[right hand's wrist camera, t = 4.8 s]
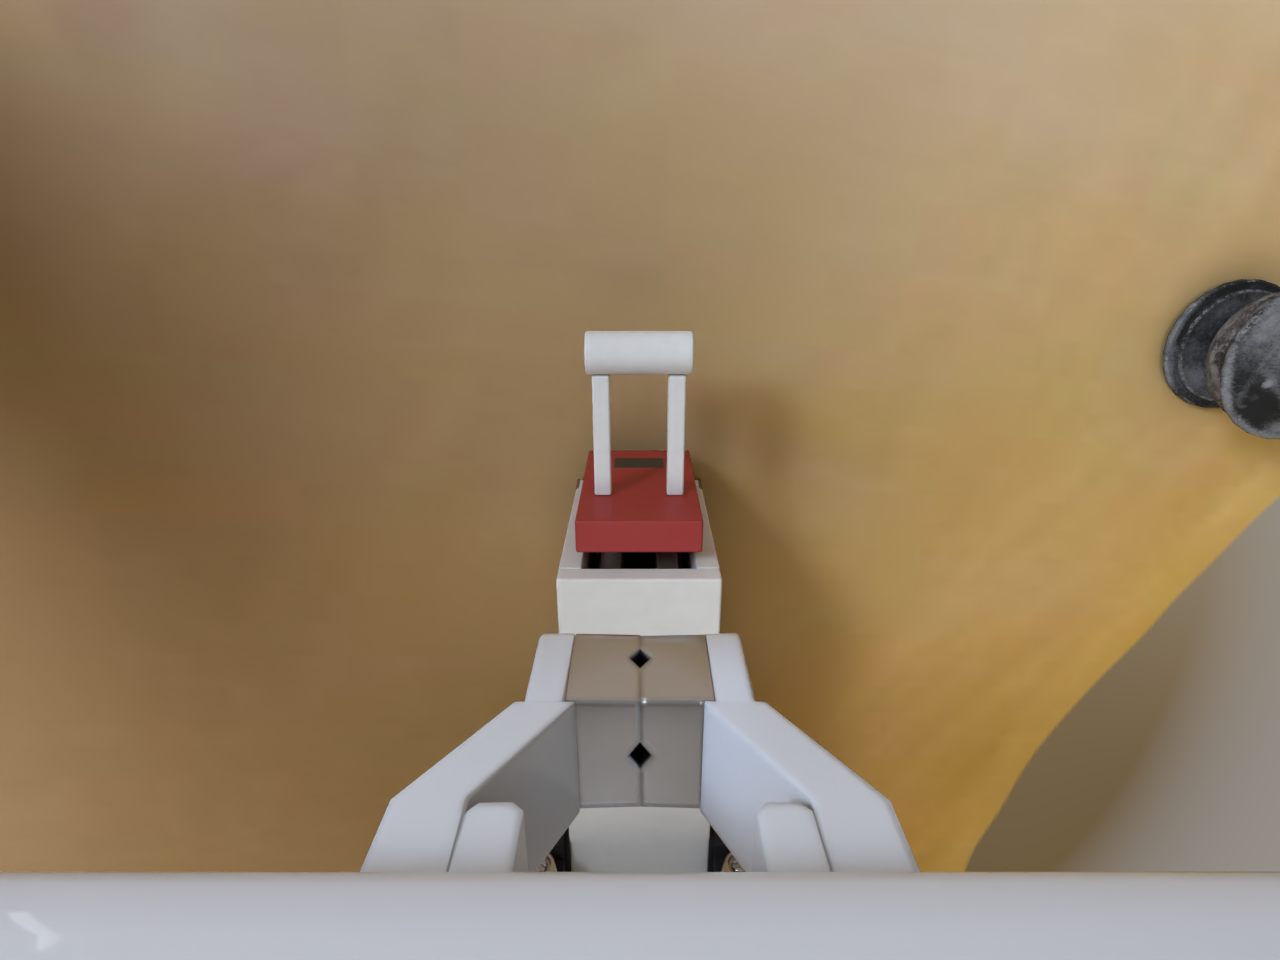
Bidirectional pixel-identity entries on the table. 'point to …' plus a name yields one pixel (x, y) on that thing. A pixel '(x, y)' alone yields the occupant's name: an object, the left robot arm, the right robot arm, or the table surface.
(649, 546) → the drawer
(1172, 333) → the dark grey chess piece
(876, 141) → the table surface
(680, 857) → the cabinet
